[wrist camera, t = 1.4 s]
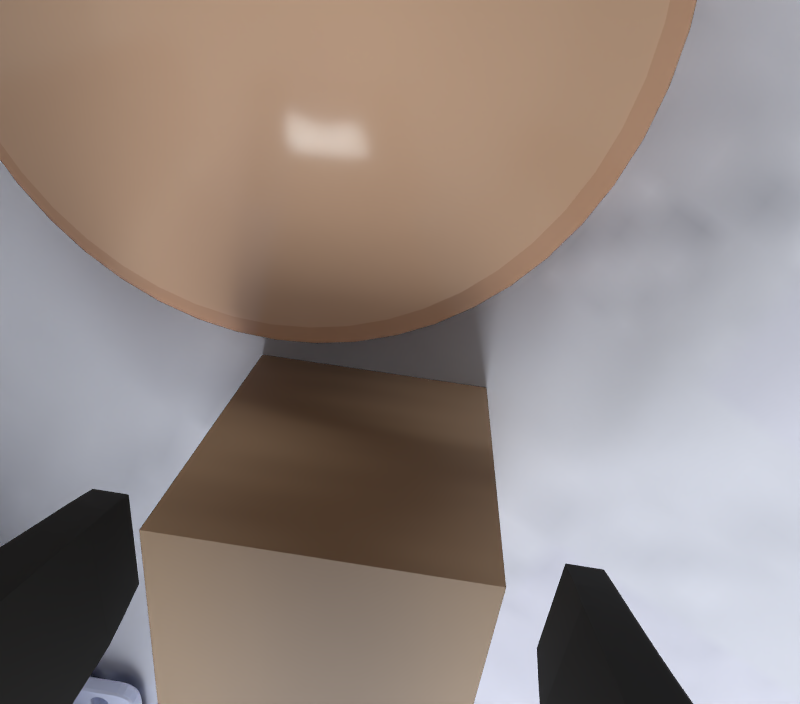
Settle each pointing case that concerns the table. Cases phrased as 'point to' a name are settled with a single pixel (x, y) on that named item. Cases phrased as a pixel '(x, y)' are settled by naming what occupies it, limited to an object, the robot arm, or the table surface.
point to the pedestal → (327, 145)
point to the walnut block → (329, 544)
